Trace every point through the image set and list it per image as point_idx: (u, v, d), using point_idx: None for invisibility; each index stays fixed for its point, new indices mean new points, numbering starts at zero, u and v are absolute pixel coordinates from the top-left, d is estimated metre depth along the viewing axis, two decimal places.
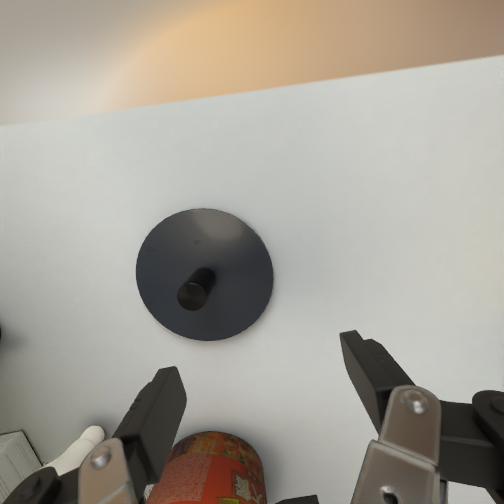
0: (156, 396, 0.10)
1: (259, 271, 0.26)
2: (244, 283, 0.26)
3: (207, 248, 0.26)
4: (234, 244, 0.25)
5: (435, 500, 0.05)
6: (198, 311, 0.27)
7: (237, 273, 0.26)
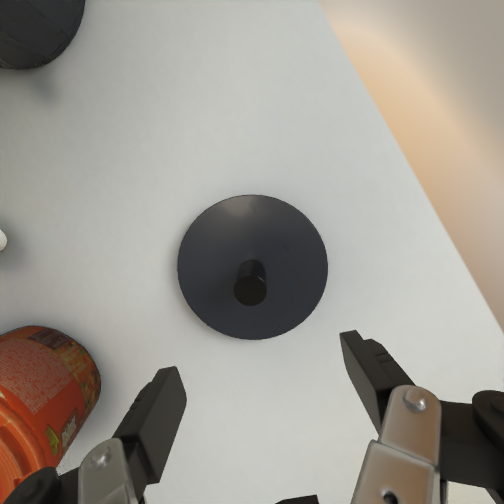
0: (156, 396, 0.10)
1: (287, 317, 0.25)
2: (268, 310, 0.25)
3: (284, 260, 0.24)
4: (301, 283, 0.24)
5: (435, 500, 0.05)
6: (214, 282, 0.24)
7: (274, 299, 0.25)
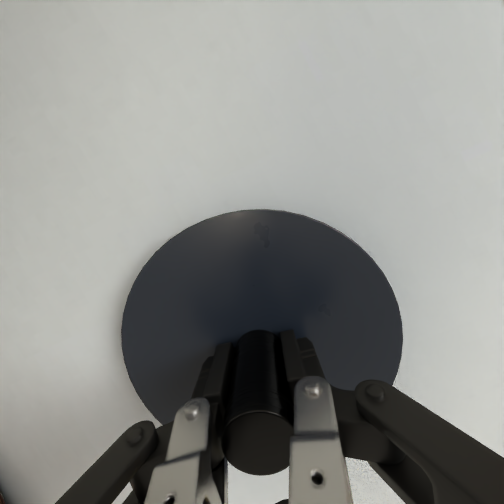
0: (224, 365, 0.11)
1: None
2: None
3: (321, 332, 0.13)
4: (351, 371, 0.13)
5: (344, 462, 0.06)
6: (191, 368, 0.13)
7: None
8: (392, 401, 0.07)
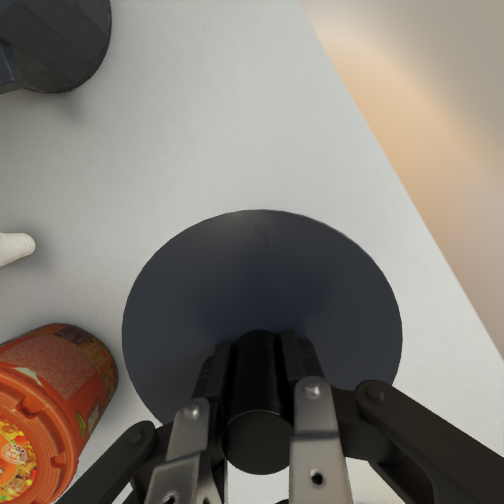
0: (224, 365, 0.11)
1: None
2: None
3: (321, 332, 0.13)
4: (351, 371, 0.13)
5: (344, 462, 0.06)
6: (191, 368, 0.13)
7: None
8: (392, 401, 0.07)
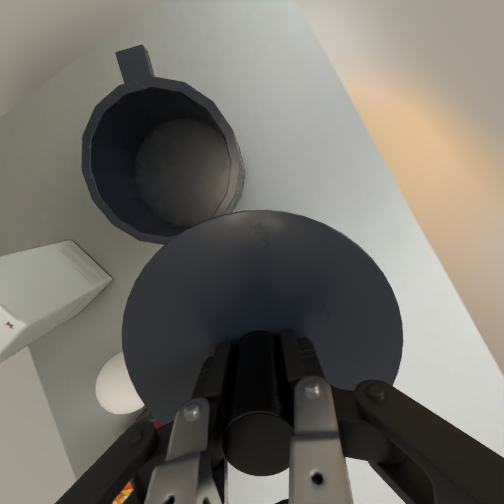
0: (224, 366, 0.11)
1: None
2: None
3: (321, 333, 0.13)
4: (352, 372, 0.13)
5: (344, 462, 0.06)
6: (191, 369, 0.13)
7: None
8: (392, 401, 0.07)
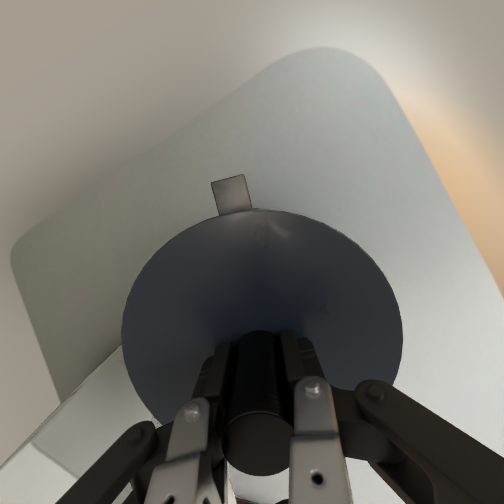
0: (224, 366, 0.11)
1: None
2: None
3: (321, 332, 0.13)
4: (351, 372, 0.13)
5: (344, 462, 0.06)
6: (191, 369, 0.13)
7: None
8: (392, 401, 0.07)
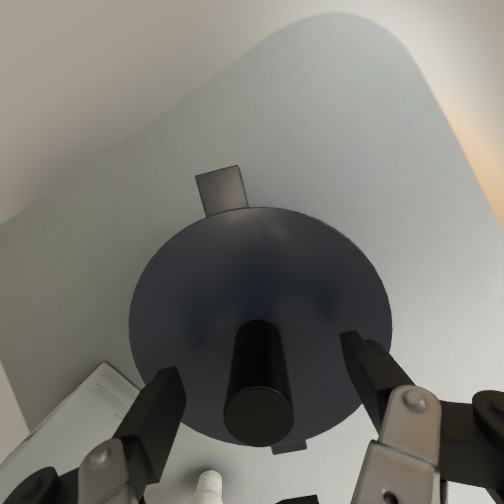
0: (156, 396, 0.10)
1: (318, 413, 0.15)
2: None
3: (316, 322, 0.13)
4: None
5: (435, 500, 0.05)
6: (194, 357, 0.14)
7: (297, 385, 0.14)
8: None
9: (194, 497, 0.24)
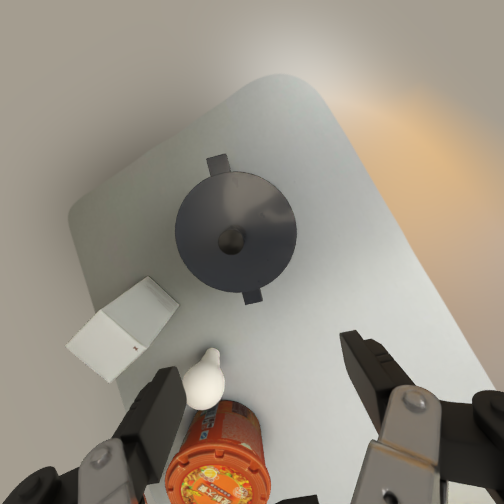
0: (156, 396, 0.10)
1: (264, 273, 0.31)
2: (249, 267, 0.31)
3: (261, 225, 0.29)
4: (275, 244, 0.30)
5: (435, 500, 0.05)
6: (205, 244, 0.30)
7: (254, 258, 0.30)
8: None
9: (202, 357, 0.40)
